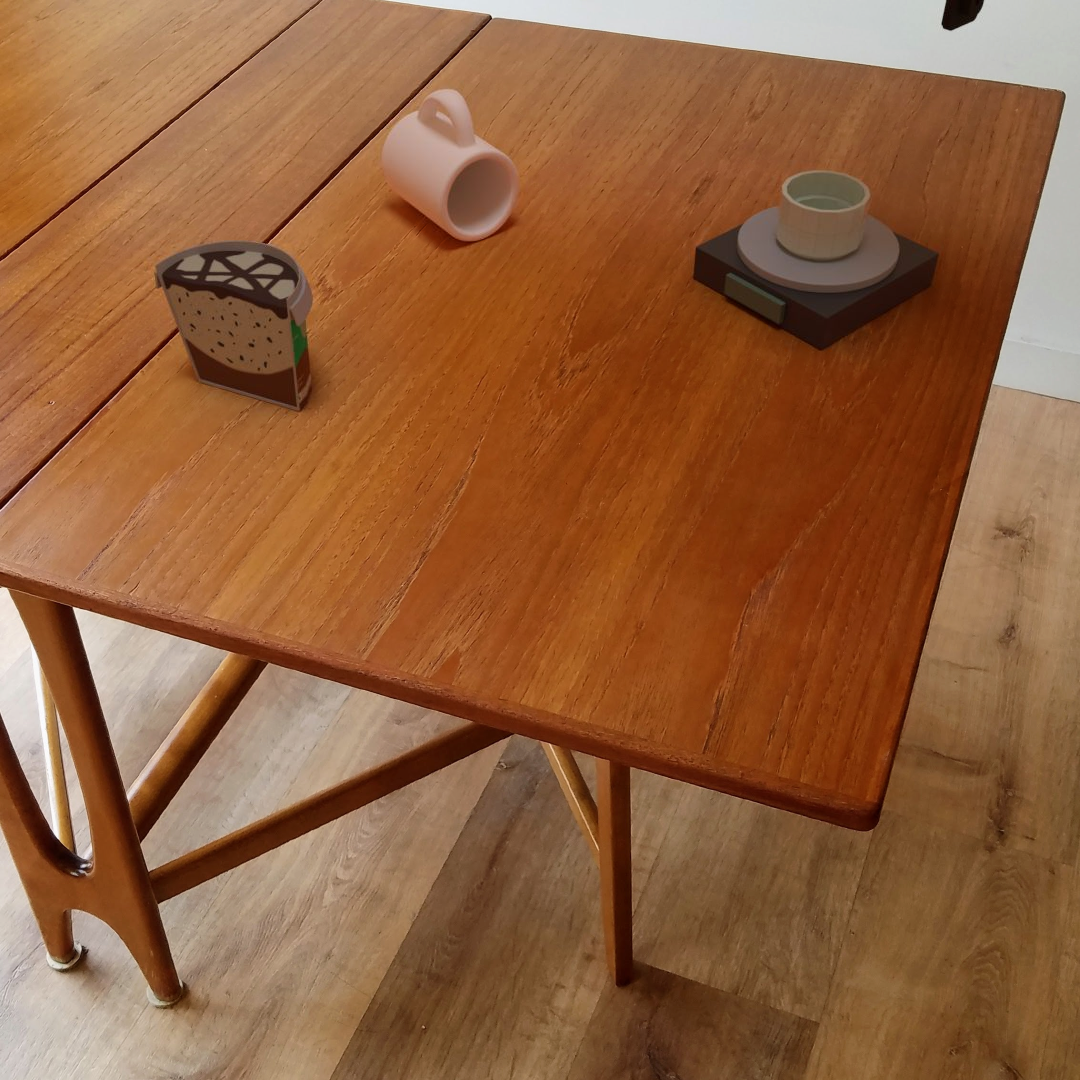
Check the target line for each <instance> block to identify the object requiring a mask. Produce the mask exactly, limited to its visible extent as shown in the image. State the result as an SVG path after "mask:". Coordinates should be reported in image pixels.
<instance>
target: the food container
mask: <svg viewBox="0 0 1080 1080" xmlns="http://www.w3.org/2000/svg"><path fill="white" fill-rule="evenodd" d="M154 268H155V271H154V283H155V289H157V290H160V289H161V288H162V290H163V292H164V296H165V298H166V300H167V303H168V306H169V308H170V312H171V314H172V316H173V319H174V321H175V325H176V327H177V330H178V333H179V336H180V337H181V341H182V343H183V345H184V348H185V351H186V354H187V356H188V359H189V361H190V364H191V367H192V369H193V372H194V375H195V377H196V380H197V382H198V383H200V384H203V385H208V386H211V387H215V388H217V389H222V390H225V391H228V392H232V393H234V394H239V395H242V396H245V397H249V398H251V399H255V400H259V401H261V402H266V403H269V404H271V405H275V406H279V407H281V408H285V409H289V410H293V411H296V412H299V413H301V411H303V409H304V408H305V407H306V406H307V404H308V402H309V399H310V396H311V393H312V390H313V388H312V377H311V366H310V353H309V342H308V330H307V318H308V316H309V314H310V312H311V309H312V307H313V302H314V296H313V291H312V288H311V286H310V283H309V281H308V278H307V276H306V274H305V272H304V270H303V269H302V267H301V265H299V263H297V261H296V259H295V258H293V256H292V255H291V254H289V253H288V252H286V251H285V250H284V249H281V248H280V247H277V246H275V245H271V244H268V243H263V242H259V241H253V240H251V241H250V240H223V241H222V240H221V241H214V242H208V243H207V242H206V243H203V244H199V245H194V246H191V247H188V248H186V249H183V250H180V251H178V252H175V253H173V254H171V255H169V256H168V257H166V258H163V259H162V260H161V261H159V262H157V263H156V264H154Z"/></svg>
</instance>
